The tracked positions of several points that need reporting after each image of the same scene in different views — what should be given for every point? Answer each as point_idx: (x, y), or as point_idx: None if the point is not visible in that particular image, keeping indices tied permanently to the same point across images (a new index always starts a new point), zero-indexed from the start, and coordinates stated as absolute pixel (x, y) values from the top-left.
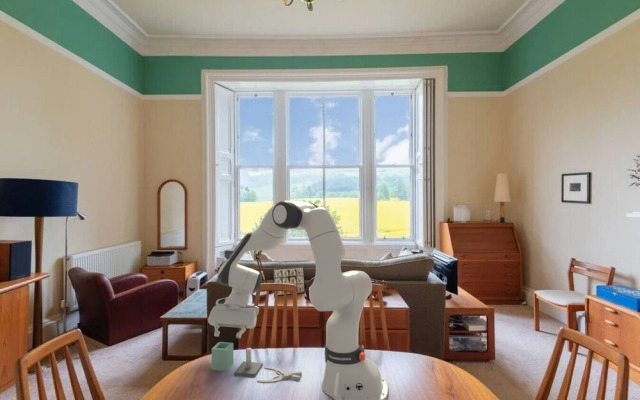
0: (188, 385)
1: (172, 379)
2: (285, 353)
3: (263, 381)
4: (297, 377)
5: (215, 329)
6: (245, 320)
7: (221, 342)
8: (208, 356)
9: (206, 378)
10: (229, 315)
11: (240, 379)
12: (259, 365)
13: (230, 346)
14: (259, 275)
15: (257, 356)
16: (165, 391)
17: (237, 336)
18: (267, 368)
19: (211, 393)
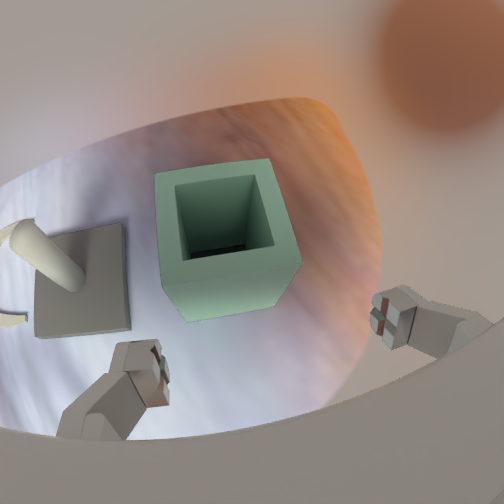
0: (260, 132)
1: (340, 146)
2: None
3: (14, 224)
4: None
5: (436, 305)
6: (20, 487)
7: (273, 259)
8: (367, 330)
9: None
10: (462, 498)
11: (89, 211)
12: (39, 310)
13: (158, 236)
14: None
15: None
16: (300, 105)
17: (139, 341)
18: (18, 316)
19: (156, 125)
